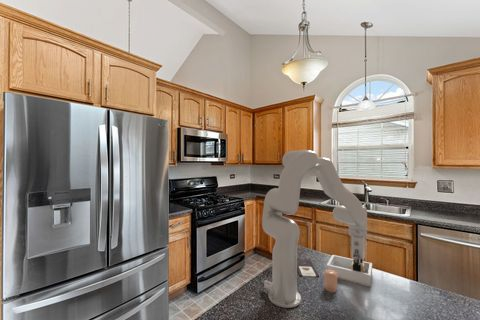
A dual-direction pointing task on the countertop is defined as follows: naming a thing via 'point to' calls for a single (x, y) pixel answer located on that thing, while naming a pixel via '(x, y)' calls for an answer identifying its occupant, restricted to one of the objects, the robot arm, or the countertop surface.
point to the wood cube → (361, 267)
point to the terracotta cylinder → (330, 280)
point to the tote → (345, 272)
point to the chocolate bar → (306, 268)
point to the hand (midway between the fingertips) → (357, 268)
